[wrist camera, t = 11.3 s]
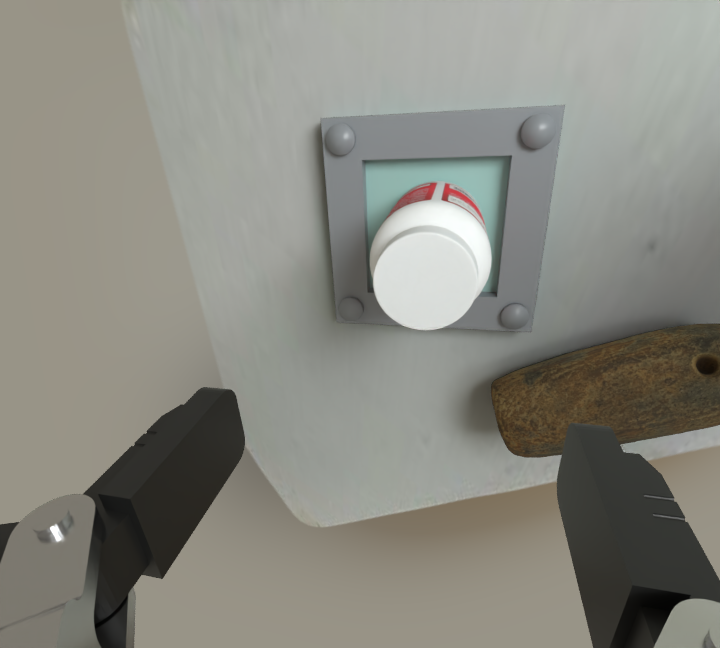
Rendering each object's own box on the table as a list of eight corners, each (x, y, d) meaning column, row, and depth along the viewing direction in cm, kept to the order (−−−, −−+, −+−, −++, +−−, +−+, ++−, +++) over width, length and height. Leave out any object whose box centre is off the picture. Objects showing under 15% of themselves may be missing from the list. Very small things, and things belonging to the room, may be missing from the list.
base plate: (558, 105, 24) (566, 104, 23) (528, 322, 30) (532, 334, 29) (327, 117, 27) (318, 118, 25) (341, 313, 33) (335, 324, 32)
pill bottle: (385, 263, 30) (350, 333, 20) (396, 174, 27) (360, 205, 18) (473, 276, 29) (480, 355, 19) (493, 185, 26) (512, 224, 17)
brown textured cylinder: (697, 285, 27) (762, 332, 21) (725, 369, 29) (793, 433, 23) (479, 366, 33) (483, 420, 27) (515, 431, 35) (526, 495, 29)
